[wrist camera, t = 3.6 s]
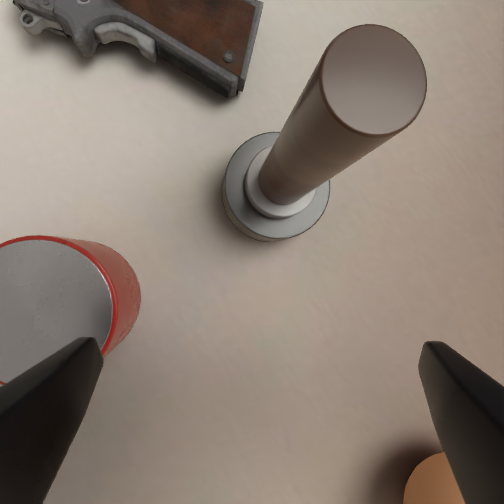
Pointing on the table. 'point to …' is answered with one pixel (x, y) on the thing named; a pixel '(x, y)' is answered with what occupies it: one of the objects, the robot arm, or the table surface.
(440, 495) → the egg
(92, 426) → the table surface
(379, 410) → the table surface
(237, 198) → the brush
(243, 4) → the handgun
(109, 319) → the tin
